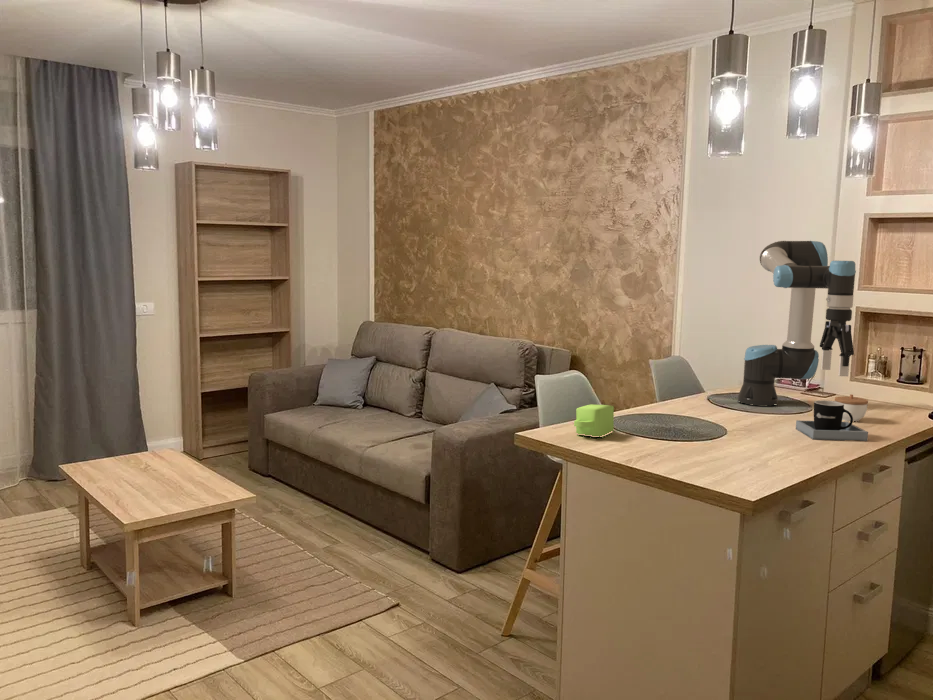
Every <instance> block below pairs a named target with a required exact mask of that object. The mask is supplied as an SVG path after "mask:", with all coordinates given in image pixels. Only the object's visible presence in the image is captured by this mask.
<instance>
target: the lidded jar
mask: <svg viewBox="0 0 933 700" xmlns="http://www.w3.org/2000/svg"><path fill="white" fill-rule="evenodd" d="M834 401H835V402H840V403H843V404H844V409H845V410H847V411H849V412H850V413H851V415H852V417H853V421H856V422H855V423H858V422H860V420H861V419H863V418H864V417H865V416H866V413H867V410H868V404H869V400H868V399H866V398H862V397H856V396H854V394H852V393H851V394H849V396H847V395H846V396H844V395H843V396H841V395H840V396H836V397H835V398H834ZM843 420H845V421H844V422H849V421H851V419H850V416H849V414H847V413H846V412H844V413H843V417H842V421H843ZM857 421H858V422H857Z"/></svg>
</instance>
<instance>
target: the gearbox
mask: <svg viewBox="0 0 933 700" xmlns="http://www.w3.org/2000/svg"><path fill="white" fill-rule="evenodd" d="M575 411H576V412H575V415H576V416H575V417H576V419H575V420H574V421H573V425H574V426H573V427H575V429H576V430H575V431H576V432H575V433H578V434H585V435H592V436H599V437H600V436H602V435H605V434H607V433H609V432H611V431H613V432H614V426H615V425H614V421H615V420H614V419H615V418H614V417H615V415H614V414H615V413H614V405H608V404H592V403H591V404H587V405H586V404H585V405H583V406H580V407H577V408H576V410H575Z"/></svg>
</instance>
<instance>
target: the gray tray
mask: <svg viewBox="0 0 933 700" xmlns="http://www.w3.org/2000/svg"><path fill="white" fill-rule="evenodd" d="M849 423H850V422H849V421H842V422H841V426H842V427H845V426H847V425H849ZM795 430H797V431H799V433H802V434H803V435H804V436H807V437H808V438H810V439H812V440H813V441H815V440H819V441H845V440H860V441H859V442H868V437H869V431H867V430H865V429H863V428H860V427H859V426H857V425H855V424H853V423H852V425H851V426H850V427H848V428H846V429H841V430H815V426H814V420H799V419H797V420H795Z"/></svg>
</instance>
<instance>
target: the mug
mask: <svg viewBox="0 0 933 700" xmlns="http://www.w3.org/2000/svg"><path fill="white" fill-rule="evenodd" d="M844 412H846V413H847V414H849V416H850V419H851V421H850V422H849V425H847V426H845V427H842V426H841V422H843V420H842V417H843V413H844ZM813 421H814V426H815V430H841V429H846V428H848V427H850V426H851V425H852V424H853V417H852V415H851V413H850V412H849V411H847V410H845V409H844V404H843V403H840V402H835V400H834V401H833V400H822V399H821V400H820V399H819V400H814V402H813Z"/></svg>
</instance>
